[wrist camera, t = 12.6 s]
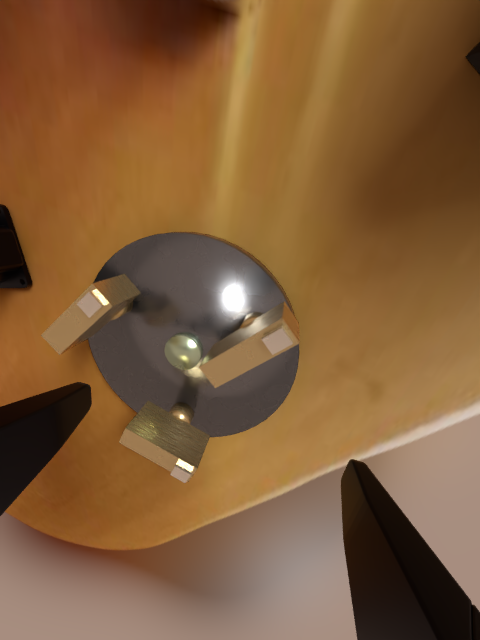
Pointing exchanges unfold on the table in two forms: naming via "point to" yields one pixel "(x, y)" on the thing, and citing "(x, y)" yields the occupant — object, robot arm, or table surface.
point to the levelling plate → (191, 330)
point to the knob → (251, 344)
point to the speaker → (475, 57)
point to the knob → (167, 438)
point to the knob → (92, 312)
